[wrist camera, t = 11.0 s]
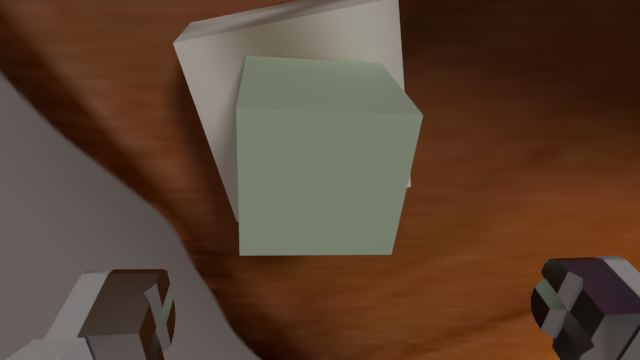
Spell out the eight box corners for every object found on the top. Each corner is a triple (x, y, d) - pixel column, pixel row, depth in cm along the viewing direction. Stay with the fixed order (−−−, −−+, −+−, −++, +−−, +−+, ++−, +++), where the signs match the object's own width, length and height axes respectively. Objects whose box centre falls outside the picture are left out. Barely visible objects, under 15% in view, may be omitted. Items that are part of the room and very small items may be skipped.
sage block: (381, 62, 15) (422, 115, 11) (363, 177, 18) (391, 254, 14) (246, 55, 15) (236, 107, 11) (247, 175, 17) (239, 255, 13)
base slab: (373, -17, 18) (398, -4, 14) (389, 146, 22) (410, 186, 19) (191, 21, 18) (172, 43, 14) (242, 176, 22) (236, 221, 19)
